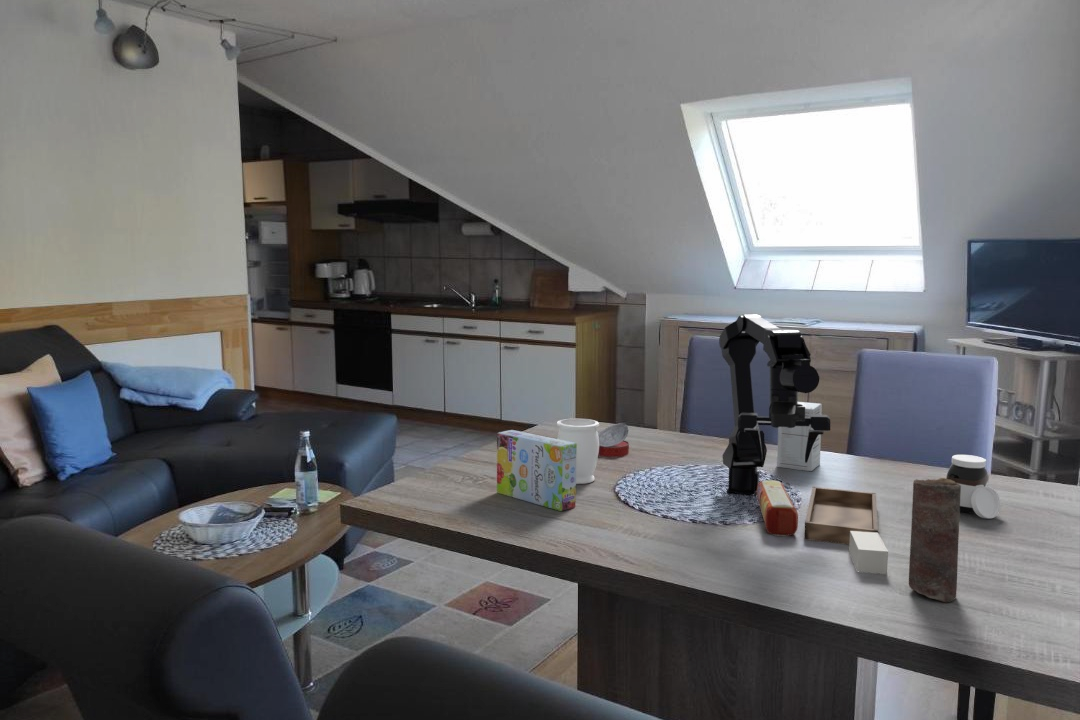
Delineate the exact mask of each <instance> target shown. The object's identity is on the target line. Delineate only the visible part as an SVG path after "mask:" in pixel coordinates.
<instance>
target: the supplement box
mask: <svg viewBox="0 0 1080 720" xmlns="http://www.w3.org/2000/svg"><path fill="white" fill-rule="evenodd" d="M798 404H805V418H810V414H822V410H823V405H822V403H819V402H817V403H816V402H806V401H805V402H804V401H798ZM808 429H809V426H795V427H794V428H788V427H778V428H777V450H776V451H777V454H776V455H777V456H776V467H777V468H784V469H791V470H799V471H804V472H805V471H807V472H812V471H814V470H815V469H816V468H817V467H818V466H819V465H820V464H821V444H822V443H821V441H822V439H821V438H822V435H821V434H820V435H818V437H817V438H816V440H815V442H814V444H813V447H812V449H811V452H810V455H809V458H808V461H807V463H805V451H806V444H807V437H808Z"/></svg>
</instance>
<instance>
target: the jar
mask: <svg viewBox="0 0 1080 720" xmlns="http://www.w3.org/2000/svg"><path fill="white" fill-rule="evenodd" d="M556 423H557V424H556V425H557V427H558V433H557V438H556V439H559V440H564V441H569V442H574V443H577V450H576V485H586V484H590V483H592V482H594V481H595V476H594V473H595V470H596V467H597V464H598V456H599V455H598V453H599V436H598V435H599V432H598V428H599V427H600V423H599V421H598V420H594V419H589V418H575V417H574V418H564V419H559V420H558V421H557V422H556Z"/></svg>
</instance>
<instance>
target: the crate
mask: <svg viewBox="0 0 1080 720" xmlns="http://www.w3.org/2000/svg"><path fill="white" fill-rule="evenodd" d="M877 503H878V502H877V493H876V492H870V491H869V492H868V491H858V490H849V489H837V488H829V487H819V486H812V488H811V493H810V497H809V502H808V507H807V511H806V516H805V521H804V533H803V534H804V537H803V539H804V540H809V541H817V542H824V543H832V544H840V545H848V544H849V543H850V531H860V532H875V533H878V534H879V525H878V523H879V522H878V506H877Z"/></svg>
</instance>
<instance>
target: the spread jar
mask: <svg viewBox="0 0 1080 720" xmlns="http://www.w3.org/2000/svg"><path fill="white" fill-rule="evenodd" d="M986 466H987V459H986V458H983V457H980V456H977V455H971V454H954V455H952V457H951V465H950V466H949V469H948V470H947V473H946V476H945V479H950V480H952V481H955V483H958V484H960V485H961V495H960V513H965V514H976V515H977V516H978V517H980V518H981V519H994V518H996V517H997V516H998V515H999V513H1000V511H1001V506H1002V505H1001V499H1000V496H999V493H997V491H996V490H995V489H994V488H992V487H990V486H989V482H990V477H989V476H990V475H989V472H988V470H987V468H986Z"/></svg>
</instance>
